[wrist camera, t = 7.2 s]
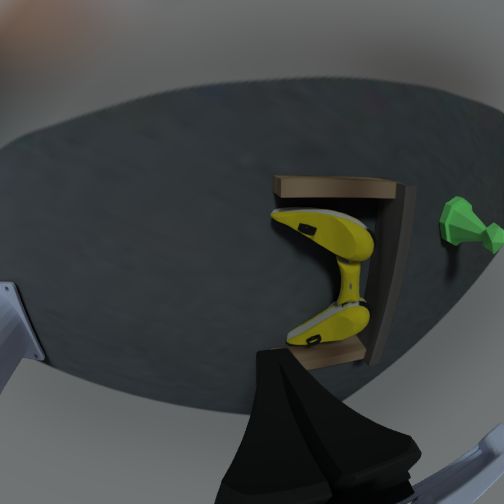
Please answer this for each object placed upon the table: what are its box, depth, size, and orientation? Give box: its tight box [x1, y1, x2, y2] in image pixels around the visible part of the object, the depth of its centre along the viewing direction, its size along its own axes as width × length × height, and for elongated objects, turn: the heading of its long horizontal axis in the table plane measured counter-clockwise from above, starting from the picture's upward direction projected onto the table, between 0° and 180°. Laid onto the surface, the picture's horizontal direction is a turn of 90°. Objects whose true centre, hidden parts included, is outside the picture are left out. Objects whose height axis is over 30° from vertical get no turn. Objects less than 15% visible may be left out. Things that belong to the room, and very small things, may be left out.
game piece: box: [439, 196, 504, 254], centre depth 17 cm, size 4×4×6 cm
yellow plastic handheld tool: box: [271, 207, 377, 346], centre depth 18 cm, size 10×6×4 cm, turn 9°
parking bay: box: [270, 175, 417, 370], centre depth 18 cm, size 8×14×3 cm, turn 1°
